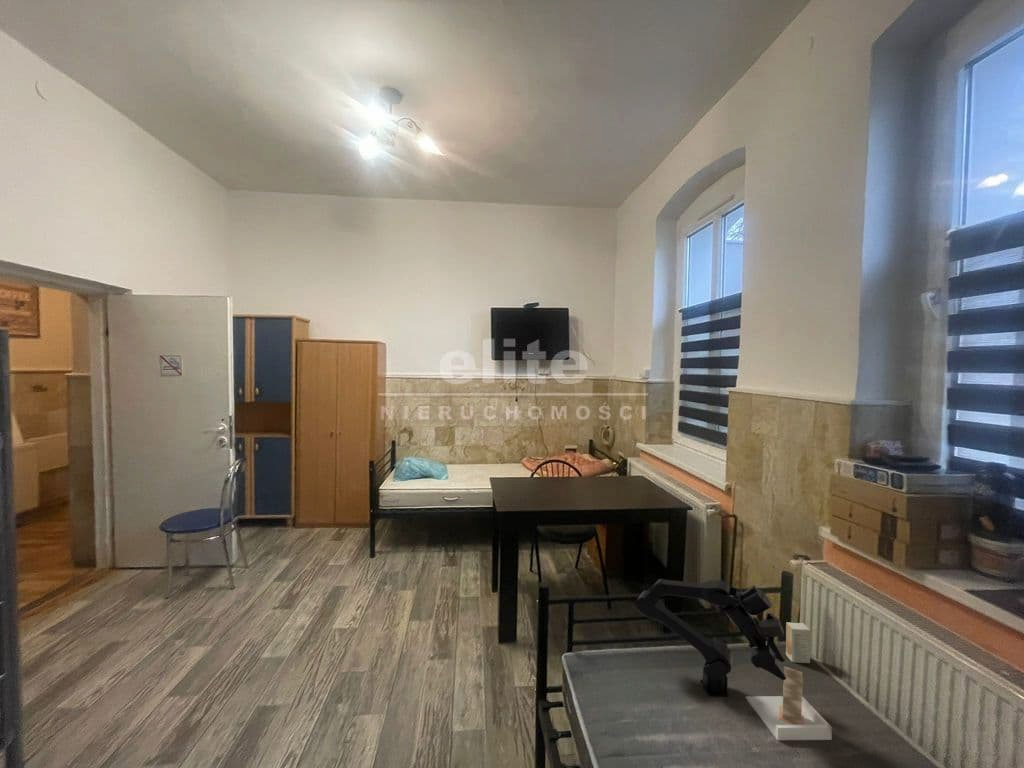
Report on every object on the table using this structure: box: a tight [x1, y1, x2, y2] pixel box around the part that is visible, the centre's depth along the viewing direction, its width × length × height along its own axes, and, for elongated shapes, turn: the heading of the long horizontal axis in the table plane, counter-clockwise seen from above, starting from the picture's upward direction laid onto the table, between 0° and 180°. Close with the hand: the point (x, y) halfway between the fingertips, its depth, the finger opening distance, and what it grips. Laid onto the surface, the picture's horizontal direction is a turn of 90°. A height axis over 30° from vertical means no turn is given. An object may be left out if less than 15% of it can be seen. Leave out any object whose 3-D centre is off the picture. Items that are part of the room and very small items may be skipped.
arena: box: [745, 695, 833, 741], centre depth 124 cm, size 16×15×4 cm
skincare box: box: [785, 621, 811, 664], centre depth 150 cm, size 6×4×12 cm
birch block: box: [782, 666, 804, 725], centre depth 123 cm, size 4×4×13 cm
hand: (784, 670), depth 124 cm, fingers open, 9 cm apart
